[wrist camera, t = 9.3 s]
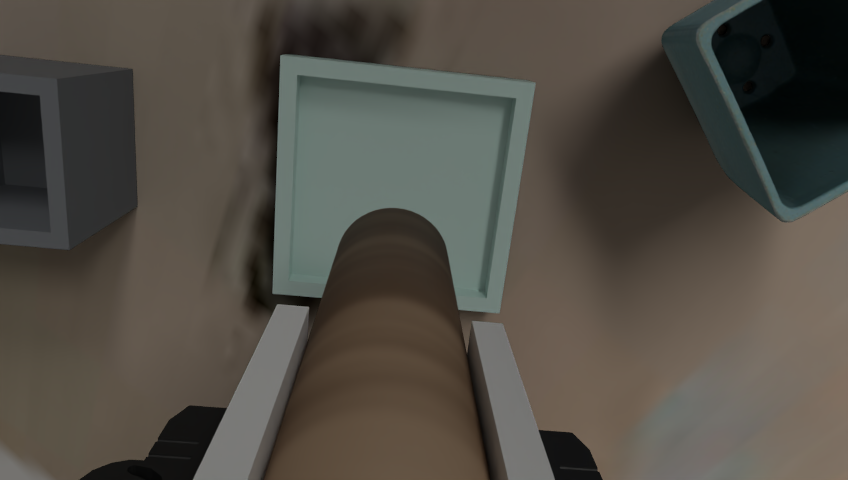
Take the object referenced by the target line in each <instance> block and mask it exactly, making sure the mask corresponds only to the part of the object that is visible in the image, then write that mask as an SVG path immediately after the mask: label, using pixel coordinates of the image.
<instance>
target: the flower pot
mask: <svg viewBox="0 0 848 480" xmlns="http://www.w3.org/2000/svg"><path fill="white" fill-rule="evenodd" d="M722 24H725V25H726V26H727V32H726V33H725V34H724V35H719V34H718V31H717V30H718V28H719V26H721V25H722ZM764 35H769V37H770V43H769V45H767V46H762V45H761V38H762V37H763V36H764ZM661 41H662V46H663V48H664V50H665V53H666V55H667V57H668V59H669V61H670V63H671V65H672V67H673V69H674V71H675V73H676V75H677V77H678V79H679V81H680V83H681V85H682V87H683V89H684V91H685V93H686V95H687V98H688V100H689V102H690V104H691V106H692V108H693V110H694V112H695V114H696V116H697V118H698V121H699V123H700V125H701V127H702V129H703V131H704V134H705V136H706V138H707V140H708V142H709V144H710V147H711V149H712V151H713V153H714V155H715V157H716V159H717V161H718V163H719V164H720V166H721V167H722V169H723V170H724V172H725V173H726V175H727V176H728V177H729V178H730V179H731V180H732V181H733V182H734V183H735V184H736V185H737V186H739V187H740V188H741V189H742V190H743V191H745V192H746V193H747V194H748V195H749V196H750V197H752V198H753V199H754V200H755V201H757V202H758V203H759V204H760V205H762V206H763V207H764V208H765V209H767V210H768V211H769V212H770V213H771V214H773V215H774V216H775V217H777V218H778V219H779V220H780V221H782V222H793V221H795V220H797V219H799V218H801V217H803V216H805V215H807V214H809V213H810V212H812V211H814V210H816V209H817V208H820V207H822V206H823V205H825V204H826V203H828V202H830V201H832V200H834V199H836V198H838V197H839V196H841V195H842V194H844V193H846V192H848V0H714V1H712V2H710V3H709V4H707V5H705V6H704V7H702V8H700V9H699V10H697V11H695V12H694V13H692V14H690V15H689V16H687V17H685V18H683V19H682V20H680V21H678V22H677V23H675V24H673V25H672V26H670V27H669V28H668V29H667V30H666V31H665V32H664V33H663V35H662V40H661ZM747 81H750V82H752V88H751V90H749V91H744V90H743V86H744V85H745V83H746V82H747Z"/></svg>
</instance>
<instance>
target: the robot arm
mask: <svg viewBox="0 0 848 480" xmlns="http://www.w3.org/2000/svg"><path fill="white" fill-rule="evenodd" d="M308 320H309V307H305V306H293V305H281V304H277V306H276V308H275V310H274V312H273V314H272V316H271V318H270V320H269V322H268V325H267V327H266V329H265V331H264V333H263V335H262V337H261V339H260V341H259V343H258V345H257V347H256V350H255V352H254V354H253V356H252V358H251V360H250V362H249V364H248V366H247V368H246V370H245V372H244V374H243V377H242V379H241V381H240V383H239V385H238V387H237V389H236V391H235V393H234V395H233V397H232V399H231V402H230V404H229V406H228V408H216V407H203V406H188V407H187V408H185V409H184V410H183V411H181V412H180V413H178V414H177V415H176V416H174V417H173V418H171V419H170V420H169V421H168V423H167V424H166V426H165V428H164V429H163V431H162V433H161V434H160V436H159V437H158V441H157V442H155V444H154V446H153V447H152V449H151V450H150V452H149V455H148V457H146V459H145V460H144V461H142V460H126V461H120V462H114V463H110V464H108V465H105V466H102V467H100V468H97V469H95V470H92V471H91V472H90V473H88V474H87V475H85V476H84V477H82V478H81V479H80V480H263V478H264V475H265V472H266V469H267V466H268V463H269V460H270V457H271V453H272V450H273V447H274V444H275V441H276V438H277V435H278V432H279V429H280V426H281V422H282V419H283V416H284V413H285V410H286V407H287V404H288V401H289V398H290V395H291V391H292V388H293V385H294V382H295V379H296V376H297V373H298V370H299V367H300V364H301V360H302V357H303V354H304V351H305V348H306V345H307V338H308ZM467 358H468V363H469V369H470V374H471V379H472V384H473V390H474V395H475V400H476V405H477V411H478V416H479V421H480V427H481V432H482V437H483V442H484V448H485V453H486V458H487V463H488V469H489V474H490V479H491V480H602V477H601V475H600V473H599V472H598V471H597V466H596V464H595V461H594V459H593V457H592V455H591V452H590V450H589V449H588V448H587V447H586V446H585V445H584V444H583V443H582V442H581V441H580V440H579V439H578V438H577V437H576V436H575V435H574V434H573V433H570V432H556V431H543V430H538V427H537V424H536V421H535V418H534V415H533V412H532V409H531V406H530V403H529V400H528V397H527V394H526V391H525V388H524V385H523V382H522V379H521V377H520V374H519V371H518V368H517V365H516V362H515V359H514V356H513V353H512V350H511V347H510V344H509V341H508V338H507V335H506V332H505V329H504V326H503V323H492V322H480V321H472V324H471V331H470V338H469V345H468V352H467Z"/></svg>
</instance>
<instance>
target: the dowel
mask: <svg viewBox="0 0 848 480" xmlns="http://www.w3.org/2000/svg"><path fill="white" fill-rule="evenodd" d="M263 480H491V479H490V474H489V469H488V463H487V458H486V453H485V448H484V442H483V437H482V432H481V427H480V421H479V416H478V411H477V405H476V400H475V395H474V390H473V384H472V379H471V374H470V369H469V363H468V358H467V353H466V348H465V342H464V337H463V332H462V327H461V321H460V316H459V311H458V306H457V300H456V295H455V290H454V285H453V279H452V274H451V269H450V263H449V258H448V253H447V249H446V245H445V242H444V240H443V238H442V236H441V234H440V233H439V231H438V230H437V229H436V227H435V226H434V225H433V224H432V223H431V222H430V221H428V220H427V219H426V218H424V217H423V216H421V215H419V214H417V213H415V212H413V211H409V210H406V209H400V208H383V209H378V210H374V211H372V212H369V213H367V214H365V215H363V216H361V217H360V218H358V219H357V220H356V221H354V222H353V223H352V224H351V225H350V226H349V228H348V229H347V230H346V231H345V233H344V235H343V236H342V238H341V241H340V243H339V246H338V249H337V252H336V255H335V258H334V261H333V264H332V268H331V271H330V274H329V277H328V280H327V283H326V286H325V289H324V292H323V295H322V298H321V302H320V305H319V308H318V311H317V314H316V317H315V320H314V323H313V326H312V329H311V333H310V336H309V339H308V342H307V345H306V348H305V351H304V354H303V357H302V360H301V364H300V367H299V370H298V373H297V376H296V379H295V382H294V385H293V388H292V391H291V395H290V398H289V401H288V404H287V407H286V410H285V413H284V416H283V419H282V422H281V426H280V429H279V432H278V435H277V438H276V441H275V444H274V447H273V450H272V453H271V457H270V460H269V463H268V466H267V469H266V472H265V475H264V478H263Z"/></svg>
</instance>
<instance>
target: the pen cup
mask: <svg viewBox="0 0 848 480" xmlns="http://www.w3.org/2000/svg"><path fill="white" fill-rule="evenodd" d="M136 207H137V181H136V153H135V126H134V99H133V71H132V69H128V68H118V67H109V66H99V65H90V64H80V63H71V62H61V61H52V60H42V59H33V58H24V57H14V56H5V55H0V244H7V245H18V246H29V247H40V248H51V249H63V250H70V249H72V248H73V247H75V246H76V245H78V244H80V243H81V242H83V241H84V240H86V239H87V238H89V237H90V236H92V235H94V234H95V233H97V232H98V231H100V230H101V229H103V228H104V227H106V226H108V225H109V224H111V223H112V222H114V221H115V220H117V219H118V218H120V217H122V216H123V215H125V214H126V213H128V212H129V211H131V210H132V209H134V208H136Z"/></svg>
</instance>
